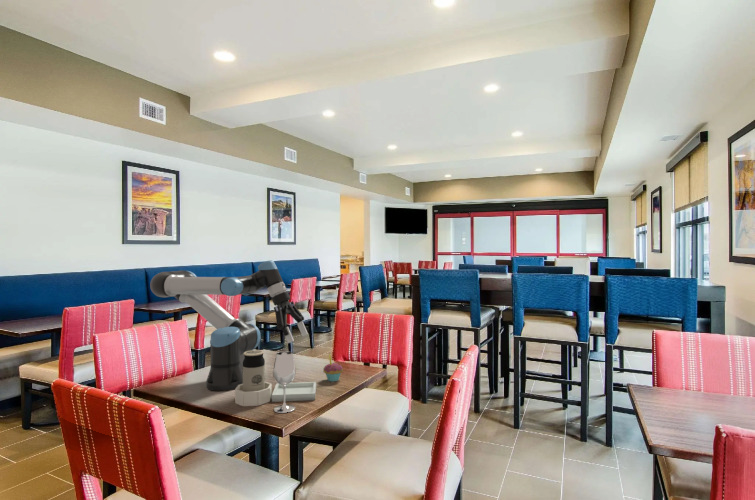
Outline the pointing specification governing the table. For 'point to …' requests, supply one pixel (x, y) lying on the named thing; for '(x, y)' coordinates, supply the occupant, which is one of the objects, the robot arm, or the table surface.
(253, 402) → the holder
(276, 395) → the tray
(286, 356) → the wineglass
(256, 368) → the travel mug
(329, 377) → the cupcake
